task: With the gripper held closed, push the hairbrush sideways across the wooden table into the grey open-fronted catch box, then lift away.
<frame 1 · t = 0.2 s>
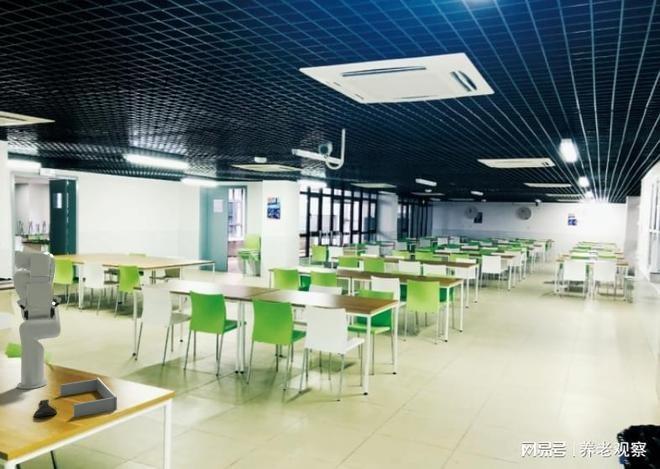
hand: (39, 318, 223), 36 cm above the table, tool pointing down, fingers open, 9 cm apart
catch box: (87, 402, 222), on the table
hairbrush: (45, 411, 212), on the table
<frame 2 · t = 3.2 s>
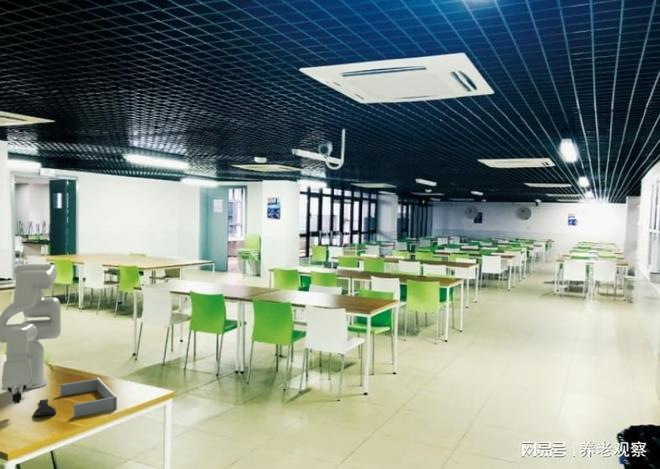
hand: (16, 402, 205), 5 cm above the table, tool pointing down, fingers closed
nothing on the table moved.
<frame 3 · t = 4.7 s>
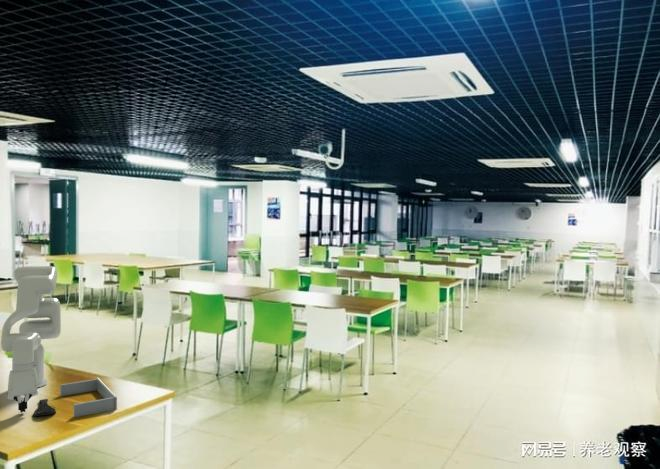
hand: (22, 411, 207), 1 cm above the table, tool pointing down, fingers closed
nothing on the table moved.
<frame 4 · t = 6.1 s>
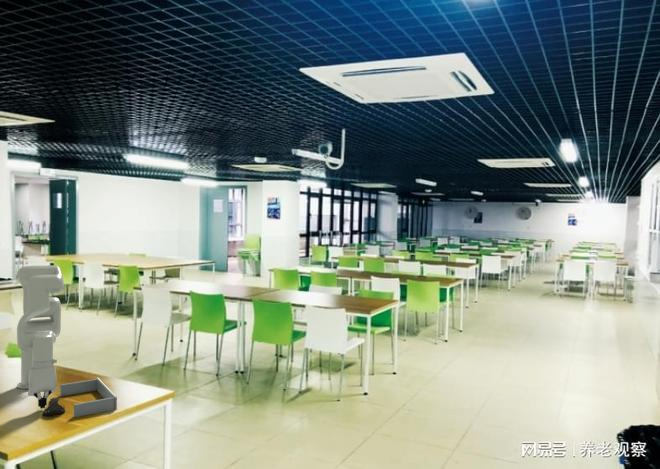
hand: (42, 407, 211), 1 cm above the table, tool pointing down, fingers closed
hairbrush: (54, 409, 214), on the table, touching gripper
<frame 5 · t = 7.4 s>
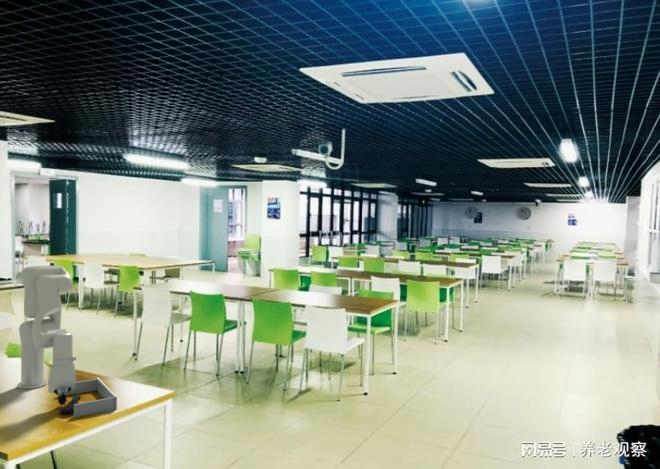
hand: (62, 404, 216), 1 cm above the table, tool pointing down, fingers closed
hairbrush: (73, 407, 217), on the table
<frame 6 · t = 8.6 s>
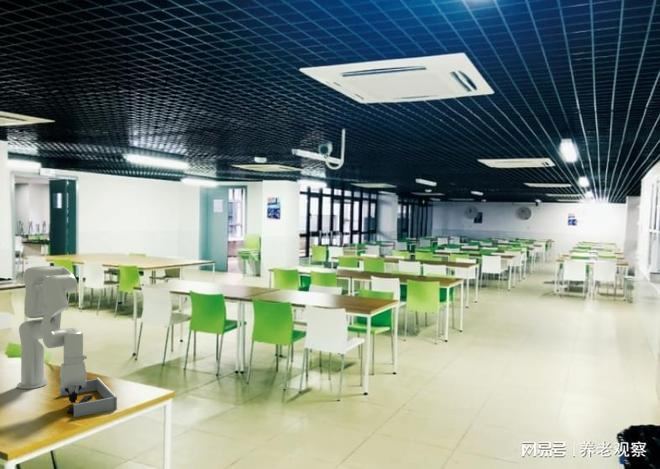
hand: (73, 402, 218), 1 cm above the table, tool pointing down, fingers closed
hairbrush: (82, 406, 218), on the table
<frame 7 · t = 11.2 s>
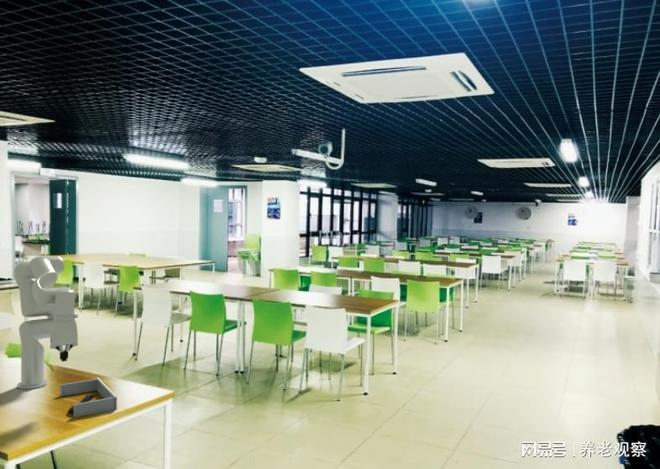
hand: (63, 360, 217), 19 cm above the table, tool pointing down, fingers closed
nothing on the table moved.
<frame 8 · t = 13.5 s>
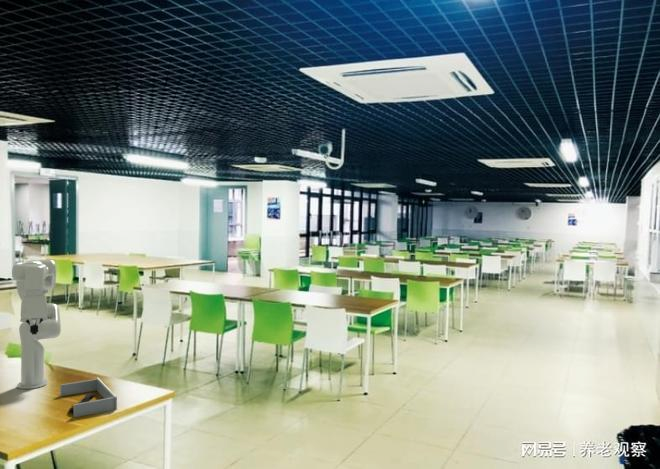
hand: (34, 333, 224), 29 cm above the table, tool pointing down, fingers closed
at the end: hairbrush inside the target area (2.2 cm from its centre), on the table; hairbrush moved 15.1 cm from its start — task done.
